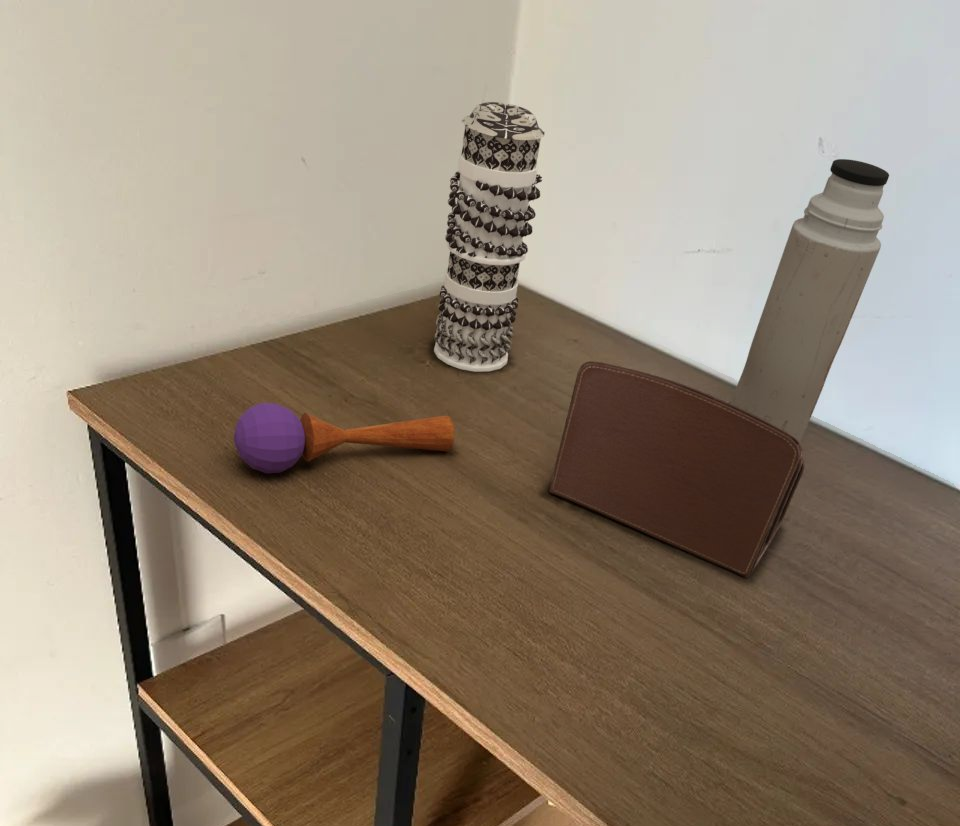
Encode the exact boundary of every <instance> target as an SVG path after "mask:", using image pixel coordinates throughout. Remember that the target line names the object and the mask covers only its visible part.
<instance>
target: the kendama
mask: <svg viewBox="0 0 960 826" xmlns="http://www.w3.org/2000/svg"><path fill="white" fill-rule="evenodd" d="M233 441H234V446H235V448H236V450H237V453H238V455H239V457H240V459H241V460H242V461H243V462H245V463H246V464H247V465H248V466H249V467H250V468H252V469H253V470H256V471H259V472H262V473H264V474H280V473H282V472H284V471H286V470H289V469H291V468H292V467H293V466H294V465H296V464H297V462H298V461H299V460H300V458H301V457H303V458H304V461H306V462H310V461H312V460H314V459H316V458H318V457H320V456H322V455H324V454H325V453H327V452H329V451H331V450H332V449H335V448H337V447H338V446H340V445H342V444H344V443H346V444H347V443H348V444H358V445H370V446H381V447H394V448H403V449H416V450H427V451H439V452H449V451H451V449H452V448H453V446H454V443H455V427H454V423H453V420H452V419H451V417H450V416H449V415H446V414H445V415H440V416H432V417H426V418H418V419H413V420H412V419H411V420H405V421H397V422H390V423H383V424H375V425H369V426H362V427H355V428H347V429H343V428H340V427H337V426H335V425H334V424H331V423H329V422H326V421H325V420H322V419H320V418H318V417H315V416H313V415H311V414H310V413H307V412H303V414H301V415H300V418H299V417H298V416H297V415H296V414H295V413H294V412H293V411H292V410H291V409H290V408H288V407H285V406H283V405H280V404H278V403H275V402H260V403H258V404H255V405H253V406H251V407H249V408H247V409H246V410H245V411H244V412H243V413H242V415H241V416H240V417H239V418H238V420H237V422H236V425H235V429H234V433H233Z"/></svg>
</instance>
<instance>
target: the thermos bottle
mask: <svg viewBox="0 0 960 826" xmlns="http://www.w3.org/2000/svg"><path fill="white" fill-rule="evenodd" d="M829 171H830V173H831V174H830V176H829V177H828V178H827V179H826V183H825V186H824V188H823V191H822V192H820V193H817V194H814V195H813V196H811V197H810V198H809V201H808V204H807V207H805V208H804V210H803V214H804V215H803V217H801V218H798V219H796V220H794V222H793V224H792V225H791V229H790V231H789V235H788V238H787V240H786V243H785V246H784V249H783V252H782V255H781V257H780V261H779V263H778V265H777V266H778V267H777V269H776V272H775V275H774V277H773V280H772V283H771V286H770V289H769V292H768V294H767V298H766V300H765V304H764V307H763V309H762V312H761V315H760V318H759V321H758V323H757V327H756V330H755V333H754V336H753V338H752V341H751V344H750V347H749V350H748V354H747V358H746V361H745V364H744V367H743V369H742V372H741V375H740V378H739V380H738V382H737V385H736V388H735V390H734V393H733V396H732V399H731V402H730V404H732V405H734V406H736V407H739V408H741V409H743V410H745V411H747V412H749V413H751V414H753V415H755V416H757V417H759V418H761V419H763V420H765V421H767V422H769V423H771V424H773V425H774V426H776V427H778V428H780V429H782V430H784V431H786V432H787V433H789V434H790V435H792V436H793V437H795V438H796V439H797V440H798V441H799V442H800V443H801V442H802V440H803V438H804V435H805V432H806V430H807V428H808V425H809V423H810V420H811V418H812V416H813V413H814V411H815V409H816V406H817V403H818V401H819V399H820V396H821V395H822V392H823V389H824V387H825V383H826V380H827V378H828V375H829V373H830V370H831V368H832V365H833V363H834V360H835V358H836V356H837V354H838V351H839V349H840V347H841V345H842V343H843V340H844V339H845V335H846V333H847V331H848V328H849V326H850V324H851V321H852V319H853V316H854V314H855V312H856V309H857V306H858V304H859V302H860V299H861V297H862V294H863V292H864V289H865V287H866V284H867V282H868V279H869V277H870V275H871V272H872V270H873V267H874V265H875V262H876V261H877V258H878V256H879V253H880V250H881V247H882V243H881V240H880V239H879V238H878V234H879V231H881V230H882V229H883V221H884V218H885V215H884V213H883V211H882V210H881V209H880V207H879V204H880V203H881V199H882V198H883V194H884V187H885V185H887V183H888V181H889V179H890V178H889V177H890V174H889V172H888V171H887V170H885V169H883V168H882V167H879V166H876V165H874V164H871V163H868V162H864V161H861V160H856V159H855V160H854V159H847V158H838V159H834V160H833V161H832V163H831V165H830V169H829Z"/></svg>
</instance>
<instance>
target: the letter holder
mask: <svg viewBox="0 0 960 826" xmlns="http://www.w3.org/2000/svg"><path fill="white" fill-rule="evenodd" d="M568 407H569V408H568V412H567V416H566V420H565V423H564V427H563V431H562V436H561V439H560V443H559V448H558V452H557V455H556V460H555V464H554V469H553V472H552V477H551V481H550V483H549V484H550V485H549V493H550V494H551V495H555V496H557V497H559V498H561V499H565V500H567V501H569V502H571V503H574V504H576V505H578V506H581V507H583V508H585V509H588V510H590V511H593V512H595V513H597V514H599V515H602V516H604V517H606V518H608V519H612V521H613V520H614V521H616V522H618V523H620V524H622V525H625V526H628V527H630V528H631V529H634V530H636V531H639V532H641V533H643V534H645V535H648V536H649V537H652V538H654V539H656V540H659V541H661V542H663V543H666V544H668V545H670V546H672V547H674V548H677V549H680V550H682V551H685V552H686V553H688V554H690V555H693V556H696V557H698V558H700V559H702V560H705V561H707V562H709V563H711V564H714V565H715V566H718V567H720V568H723V569H725V570H728V571H730V572H732V573H735V574H737V575H739V576H741V577H743V578H745V579H749V577H750V576H751V575H752V574H753V572H754V570H755V569H756V568H757V565H758V564H759V562H760V561H761V560H762V558H763V556H764V555H765V554H766V553H765V552H766V551H767V549H768V548H769V546H770V545H771V543H772V542H773V539H775V537H776V534H777V533H778V531H779V529H780V528H781V525H782V523H783V520H784V518H785V516H786V514H787V512H788V509H789V507H790V504H791V501H792V499H793V497H794V494H795V492H796V490H797V488H798V485H799V483H800V481H801V479H802V477H803V474H804V472H805V468H806V462H805V458H804V457H803V456H802V454H803V447H802V444H801V442H799V441H798V440H797V439H796V438H795V437H793V436H792V435H790V434H789V433H787V432H786V431H784V430H782V429H780V428H778V427H776V426H774V425H773V424H771V423H769V422H767V421H765V420H763V419H761V418H759V417H757V416H755V415H753V414H751V413H749V412H747V411H745V410H743V409H741V408H739V407H736V406H734V405H732V404H731V402H727V401H725V400H723V399H721V398H718V397H716V396H713V395H711V394H709V393H707V392H704V391H703V390H700V389H697V388H694V387H691V386H689V385H686V384H684V383H680V382H678V381H675V380H673V379H672V380H671V379H668V378H666V377H665V378H664V377H662V376H659V375H655V374H651V373H647V372H643V371H640V370H636V369H632V368H629V367H628V368H627V367H624V366H619V365H615V364H610V363H607V362H602V361H592V360H590V361H586V362H584V363H582V364H581V365H580V366H579V368H578V371H577V375H576V377H575V381H574V385H573V390H572V394H571V398H570V403H569V406H568Z"/></svg>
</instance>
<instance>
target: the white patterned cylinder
mask: <svg viewBox="0 0 960 826" xmlns="http://www.w3.org/2000/svg"><path fill="white" fill-rule="evenodd" d="M461 123H462V124H463V125H464V131H463V138H462V147H461V148H462V149H461V150H460V152H459V157H458V165H457V171H455V173H454V175H453V176H451V177H450V180H449V181H450V184H449V188H450V190H451V191H450V192H449V194H448V197H449V198H448V199H447V204H448V206H449V207H451V212H449V213H448V215H447V222H446V223H447V224H446V225H447V228H446V235H445V236H444V240H445V241H446V243H445V245H446V248H447V249H448V250H449V257H448V267H447V268H446V270H445V274H444V276H445V277H444V284H443V285H441V287H440V290H439V296H440V297H441V299H440V300H439V304H438V307H437V309H438V311H440V313H439V314H438V315H437V317H436V320H435V326H436V330H435V334H434V335H433V336H434V340H435V345H434V348H433V352H434V354H435V356H436V357H437V358H438V359H439V360H440V361H441V362H443V363H445V364H446V365H448V366H450V367H453V368H457V369H459V370H463V371H469V372H473V373H474V372H475V373H476V372H477V373H478V372H479V373H480V372H481V373H482V372H492V371H493V372H494V371H497V370H501V369H502V368H503V367H505V366H506V365H507V364H508V358H509V353H508V352H510V351H511V345H512V341H511V340H510V339H512V338H513V337H514V334H513V333H514V327H513V326H512V324H513V323H515V322H516V316H517V313H516V311H515V310H516V309H517V308H518V307H519V303H518V302H519V298H518V296H517V292H518V286H519V280H518V276H519V272H520V271H519V270H520V266H521V264H520V263H521V262H523V261H524V260H526V254H527V253H528V252H529V248H528V245H527V244H526V242H524V241H523V239H524V237H525V238H526V237H527V236H529V235H532V234H533V225H532V224H530V223H529V221H531V220H533V219H535V217H536V211H535V209H534V208H533V207H532V206H530V202H531V201H532V202H534V201H535V200H538V199H539V198H540V197H541V190H540V189H539V188H538V187H537V186H536V185H538V184H539V183H541V182H543V179H542V178H543V177H542V176H541V174H538V168H539V164H538V163H537V162H538V158H539V151H540V145H541V140H542V138H544V137H545V131H544V130H543V129H542V128H540V127H539V124H538V120H537V118H536V116H535V114H534V113H533V112H531V111H530V110H529V109H527V108H524V107H522V106H518V105H515V104H511V103H506V102H500V101H499V102H497V101H487V102H483V103H479V104H477V105H476V106H475V107H474V108H473V110H472V111H471V113H470V114H469V115H466V116H464V117H462V120H461Z"/></svg>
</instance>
